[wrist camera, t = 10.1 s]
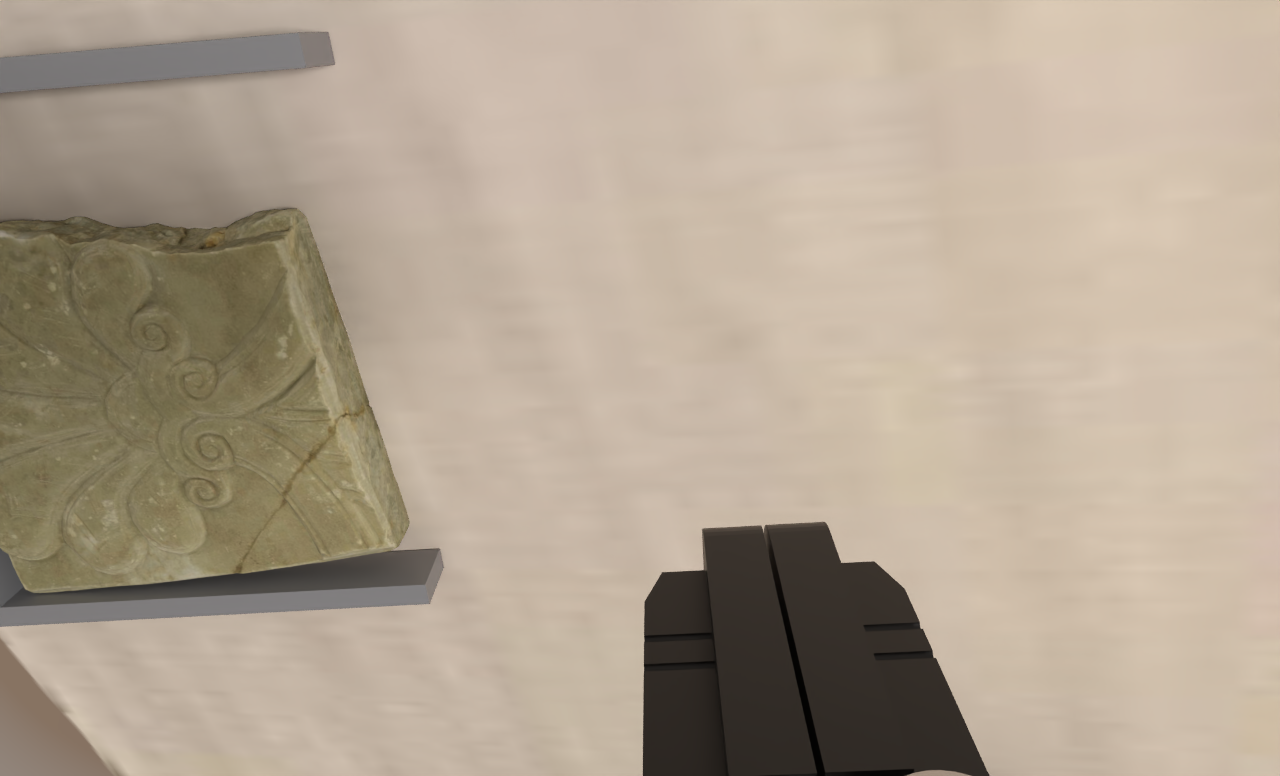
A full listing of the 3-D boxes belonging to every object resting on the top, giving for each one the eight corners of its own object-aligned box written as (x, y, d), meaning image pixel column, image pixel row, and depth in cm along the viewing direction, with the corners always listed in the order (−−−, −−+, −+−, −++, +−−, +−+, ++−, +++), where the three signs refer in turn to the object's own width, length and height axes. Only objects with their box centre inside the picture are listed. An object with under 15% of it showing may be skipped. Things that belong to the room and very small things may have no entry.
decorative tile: (415, 525, 43) (396, 566, 39) (60, 565, 44) (13, 608, 41) (309, 170, 35) (274, 185, 32) (-116, 231, 36) (-191, 251, 33)
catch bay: (-220, 78, 33) (-298, 82, 30) (328, 32, 32) (298, 32, 29) (28, 590, 44) (-13, 627, 41) (443, 567, 43) (429, 603, 40)
